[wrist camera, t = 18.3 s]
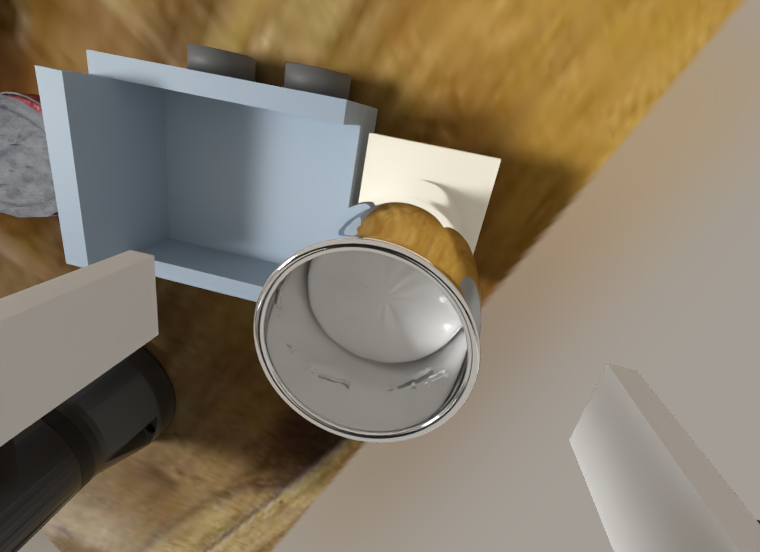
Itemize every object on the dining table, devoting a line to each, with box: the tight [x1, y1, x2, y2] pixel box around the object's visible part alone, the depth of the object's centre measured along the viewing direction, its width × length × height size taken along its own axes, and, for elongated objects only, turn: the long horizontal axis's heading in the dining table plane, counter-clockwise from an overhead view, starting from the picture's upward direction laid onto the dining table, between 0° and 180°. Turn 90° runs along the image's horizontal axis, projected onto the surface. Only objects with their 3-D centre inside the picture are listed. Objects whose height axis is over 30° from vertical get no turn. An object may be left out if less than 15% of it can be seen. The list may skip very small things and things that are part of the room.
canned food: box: [0, 92, 59, 217], centre depth 31 cm, size 11×10×10 cm
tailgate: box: [358, 133, 501, 254], centre depth 25 cm, size 2×10×8 cm
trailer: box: [35, 44, 378, 302], centre depth 25 cm, size 24×16×12 cm
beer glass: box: [253, 180, 481, 443], centre depth 17 cm, size 7×7×15 cm
